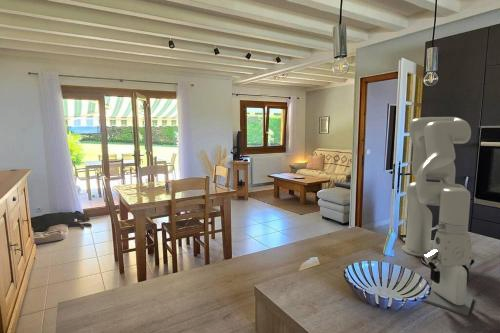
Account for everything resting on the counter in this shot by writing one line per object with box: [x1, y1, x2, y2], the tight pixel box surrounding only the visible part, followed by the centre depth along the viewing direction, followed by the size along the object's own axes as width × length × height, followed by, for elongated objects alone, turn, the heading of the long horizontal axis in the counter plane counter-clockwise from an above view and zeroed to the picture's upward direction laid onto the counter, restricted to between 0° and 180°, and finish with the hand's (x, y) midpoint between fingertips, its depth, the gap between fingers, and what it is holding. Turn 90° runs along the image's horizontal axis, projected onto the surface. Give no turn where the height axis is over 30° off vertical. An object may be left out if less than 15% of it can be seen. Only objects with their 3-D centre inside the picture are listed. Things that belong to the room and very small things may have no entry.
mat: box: [423, 284, 474, 317], centre depth 95 cm, size 12×12×1 cm
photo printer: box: [431, 263, 468, 305], centre depth 95 cm, size 10×4×12 cm, turn 11°
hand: (448, 280), depth 95 cm, fingers open, 9 cm apart
